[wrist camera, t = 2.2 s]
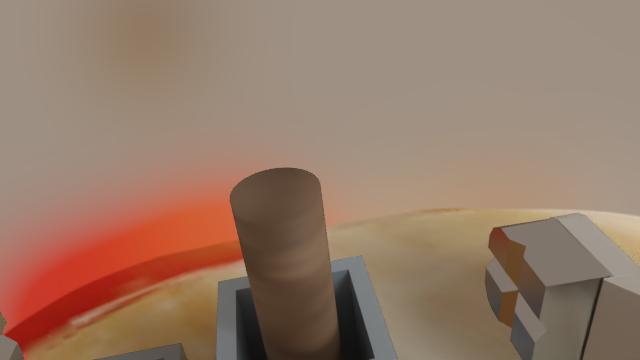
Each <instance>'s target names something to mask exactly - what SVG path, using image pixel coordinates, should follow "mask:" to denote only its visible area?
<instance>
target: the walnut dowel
mask: <svg viewBox="0 0 640 360" xmlns="http://www.w3.org/2000/svg"><path fill="white" fill-rule="evenodd" d="M230 203H231V207H232V212H233V215H234V220H235V224H236V228H237V233H238V237H239V241H240V245H241V250H242V254H243V258H244V262H245V267H246V271H247V275H248V279H249V283H250V288H251V292H252V296H253V300H254V305H255V309H256V313H257V317H258V321H259V326H260V330H261V334H262V338H263V343H264V347H265V351H266V355H267V359H268V360H343V356H342V349H341V341H340V333H339V325H338V318H337V310H336V302H335V294H334V287H333V279H332V271H331V263H330V256H329V248H328V240H327V232H326V225H325V217H324V210H323V201H322V194H321V186H320V182H319V180H318V178H317V177H316V176H315V175H313V174H312V173H310V172H308V171H305V170H302V169H297V168H275V169H269V170H265V171H261V172H258V173H255V174H253V175H251V176H249V177H247V178H245V179H243V180H242V181H241V182H239V183H238V184H237V185H236V186H235V187H234V188H233V190H232V192H231V194H230Z"/></svg>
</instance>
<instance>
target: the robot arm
mask: <svg viewBox="0 0 640 360" xmlns="http://www.w3.org/2000/svg"><path fill="white" fill-rule="evenodd" d="M488 247H489V249H490V250H491V252H492V253H493V255H494V256H495V257H494V259H493V260H492V261H491V262H490V263H489V265H488V266H487V267H486V277H485V285H486V291H487V296H488V300H489V302H490V305H491V308H492V310H493V312H494V313H495V315H496V317H497V319H498V320H499V321H500V322H502V323H504V324H506V325H507V326H509V327H511V328H512V334H511V342H512V344H513V345H514V347H515V349H516V350H517V352H518V353H519V355H520V357H521V358H522V360H640V267H639V266H638V265H637V264H636V263H635V262H634V261H633V260H632V259H631V258H630V257H629V256H628V255H627V254H626V253H625V252H624V251H623V250H622V249H620V248H619V247H618V246H617V245H616V244H615V243H614V242H613V241H612V240H611V239H610V238H609V237H608V236H607V235H606V234H605V233H604V232H603V231H602V230H601V229H599V228H598V227H597V226H596V225H595V224H594V223H593V222H592V221H591V220H590V219H589V218H588V217H587V216H585V215H583V214H580V213H574V214H569V215H563V216H557V217H552V218H549V219H545V220H538V221H532V222H526V223H520V224H513V225H507V226H501V227H494V228H493V230H492V232H491V234H490V238H489V246H488ZM6 323H7V322H6V321H5V319H4V317H3V316H2V314H1V312H0V360H24V357H23V353H22V351H21V349H20V347H19V345H18V343H17V342H15V341H13V340H12V339H10V338H8V337H6V336H4V335H3V334H2V333H3V330H4V327H5V325H6Z"/></svg>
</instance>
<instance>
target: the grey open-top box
mask: <svg viewBox="0 0 640 360" xmlns="http://www.w3.org/2000/svg"><path fill="white" fill-rule="evenodd" d="M330 263H331V271H332V279H333V287H334V294H335V302H336V310H337V318H338V325H339V333H340V341H341V349H342V356H343V360H398V358H397V355H396V353H395V350H394V347H393V344H392V341H391V338H390V335H389V332H388V329H387V327H386V324H385V321H384V318H383V315H382V312H381V309H380V306H379V304H378V301H377V298H376V295H375V292H374V289H373V286H372V283H371V280H370V278H369V275H368V272H367V269H366V266H365V263H364V260H363V257H362V256H356V257H351V258H345V259H340V260H334V261H330ZM216 360H268V359H267V355H266V351H265V347H264V343H263V338H262V334H261V330H260V326H259V321H258V317H257V313H256V309H255V305H254V300H253V296H252V292H251V288H250V283H249V279H248V276H247V277H241V278H236V279H230V280H225V281H219V282H218V310H217V344H216Z"/></svg>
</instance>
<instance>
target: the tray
mask: <svg viewBox="0 0 640 360" xmlns="http://www.w3.org/2000/svg"><path fill="white" fill-rule="evenodd" d="M95 360H187V358H186V355H185V353H184V350H183V347H182V344H181V343H179V344H174V345H168V346H163V347H158V348H153V349H147V350H142V351H137V352H132V353H126V354H121V355H116V356H111V357H105V358H100V359H95Z"/></svg>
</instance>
